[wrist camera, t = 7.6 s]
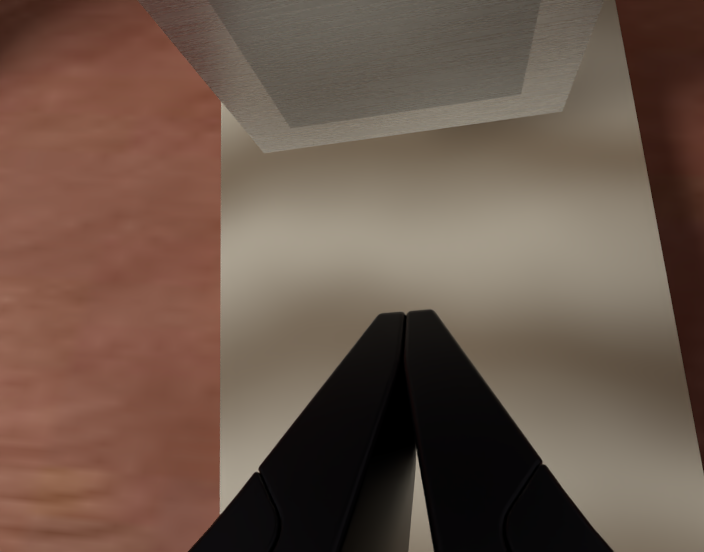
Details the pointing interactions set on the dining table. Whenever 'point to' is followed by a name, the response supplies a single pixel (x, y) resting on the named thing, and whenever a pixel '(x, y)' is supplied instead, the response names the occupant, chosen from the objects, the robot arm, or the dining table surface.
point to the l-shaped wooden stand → (475, 292)
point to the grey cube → (378, 62)
